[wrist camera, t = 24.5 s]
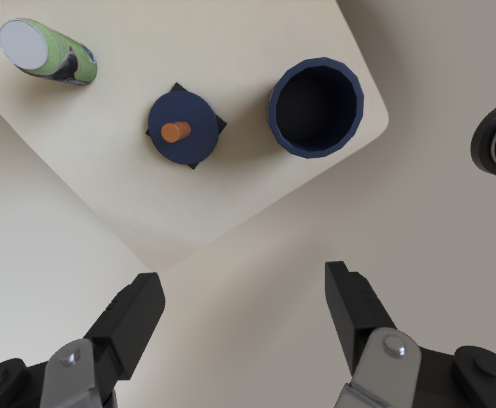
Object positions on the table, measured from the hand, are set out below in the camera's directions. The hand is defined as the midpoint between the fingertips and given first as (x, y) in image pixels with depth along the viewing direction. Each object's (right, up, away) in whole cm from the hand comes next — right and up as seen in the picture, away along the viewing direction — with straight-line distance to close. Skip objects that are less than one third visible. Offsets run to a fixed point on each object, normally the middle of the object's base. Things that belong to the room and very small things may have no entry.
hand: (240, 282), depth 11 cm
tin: (+9, +19, +28) cm, 35 cm away
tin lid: (-10, +16, +29) cm, 34 cm away
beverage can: (-25, +26, +27) cm, 45 cm away
